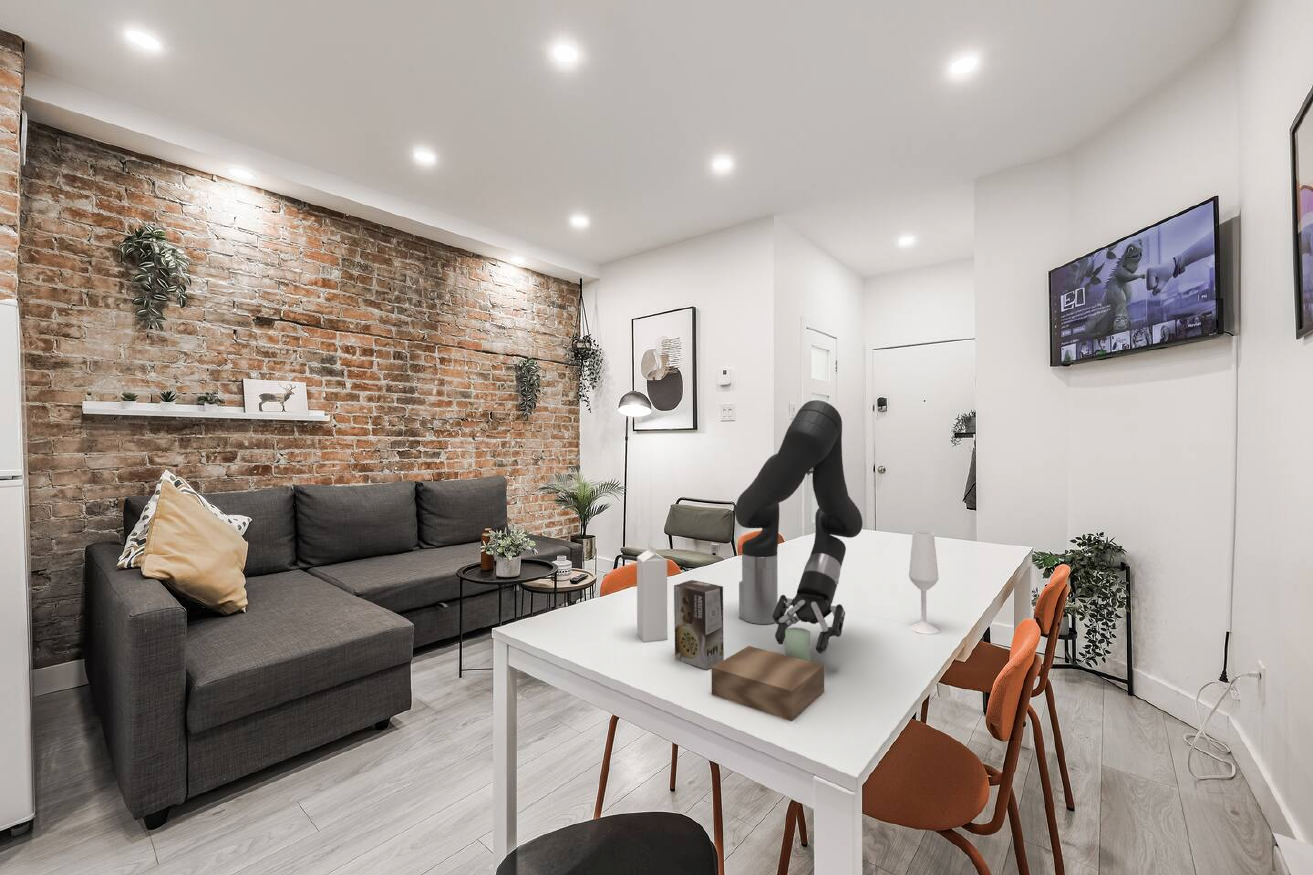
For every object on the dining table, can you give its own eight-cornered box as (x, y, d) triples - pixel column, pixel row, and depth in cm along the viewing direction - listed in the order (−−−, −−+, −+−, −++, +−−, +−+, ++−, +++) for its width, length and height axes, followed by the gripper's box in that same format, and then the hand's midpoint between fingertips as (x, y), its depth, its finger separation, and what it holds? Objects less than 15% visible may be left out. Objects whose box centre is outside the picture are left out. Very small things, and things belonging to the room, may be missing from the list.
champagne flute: (934, 635, 135) (933, 536, 135) (905, 629, 139) (904, 533, 139) (942, 628, 140) (941, 532, 140) (914, 623, 144) (913, 529, 144)
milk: (643, 642, 131) (642, 548, 131) (636, 634, 137) (636, 543, 137) (668, 639, 133) (667, 546, 133) (660, 631, 138) (659, 542, 138)
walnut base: (711, 694, 104) (711, 667, 104) (748, 670, 115) (748, 645, 115) (791, 720, 94) (791, 690, 94) (824, 691, 105) (824, 664, 105)
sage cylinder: (781, 671, 114) (780, 632, 114) (791, 663, 118) (791, 625, 118) (804, 677, 111) (804, 637, 111) (814, 669, 115) (814, 630, 115)
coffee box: (725, 661, 119) (724, 586, 119) (705, 670, 115) (705, 591, 115) (692, 650, 126) (692, 578, 126) (673, 658, 121) (672, 584, 121)
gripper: (784, 565, 125) (760, 630, 116) (847, 573, 116) (827, 644, 107) (794, 584, 129) (772, 648, 120) (856, 594, 120) (838, 664, 111)
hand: (798, 646), depth 113 cm, fingers open, 8 cm apart
